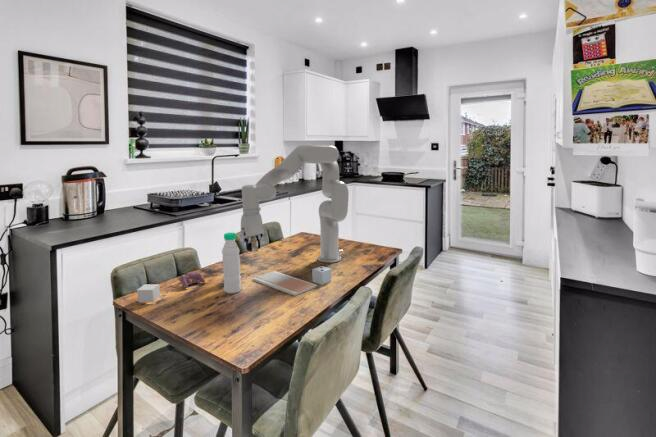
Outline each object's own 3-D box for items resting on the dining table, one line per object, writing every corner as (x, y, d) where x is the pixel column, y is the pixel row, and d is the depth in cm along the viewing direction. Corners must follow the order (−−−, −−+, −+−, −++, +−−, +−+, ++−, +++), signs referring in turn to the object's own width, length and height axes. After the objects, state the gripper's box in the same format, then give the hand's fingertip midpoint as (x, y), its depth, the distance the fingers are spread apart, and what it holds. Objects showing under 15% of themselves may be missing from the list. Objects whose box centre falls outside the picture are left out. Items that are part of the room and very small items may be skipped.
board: (274, 272, 186) (274, 270, 186) (316, 286, 168) (316, 284, 168) (252, 280, 177) (252, 277, 176) (295, 295, 159) (295, 293, 159)
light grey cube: (160, 298, 157) (159, 284, 156) (154, 304, 151) (152, 289, 150) (145, 298, 157) (144, 284, 156) (138, 304, 151) (137, 289, 150)
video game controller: (201, 285, 175) (196, 270, 176) (206, 282, 172) (201, 267, 173) (181, 291, 168) (176, 276, 168) (186, 289, 165) (181, 273, 165)
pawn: (254, 248, 188) (253, 234, 186) (260, 250, 185) (259, 235, 183) (246, 250, 184) (246, 236, 183) (252, 252, 181) (251, 237, 180)
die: (321, 278, 179) (321, 265, 178) (331, 281, 175) (331, 268, 174) (312, 281, 175) (312, 268, 174) (322, 285, 171) (322, 271, 170)
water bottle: (224, 294, 160) (220, 236, 155) (224, 288, 167) (220, 232, 162) (241, 293, 162) (239, 234, 157) (240, 286, 169) (238, 230, 164)
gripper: (260, 208, 189) (262, 244, 193) (231, 213, 177) (234, 252, 181) (270, 209, 184) (272, 246, 188) (241, 215, 172) (243, 255, 176)
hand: (253, 249), depth 184 cm, fingers closed on pawn, 4 cm apart
